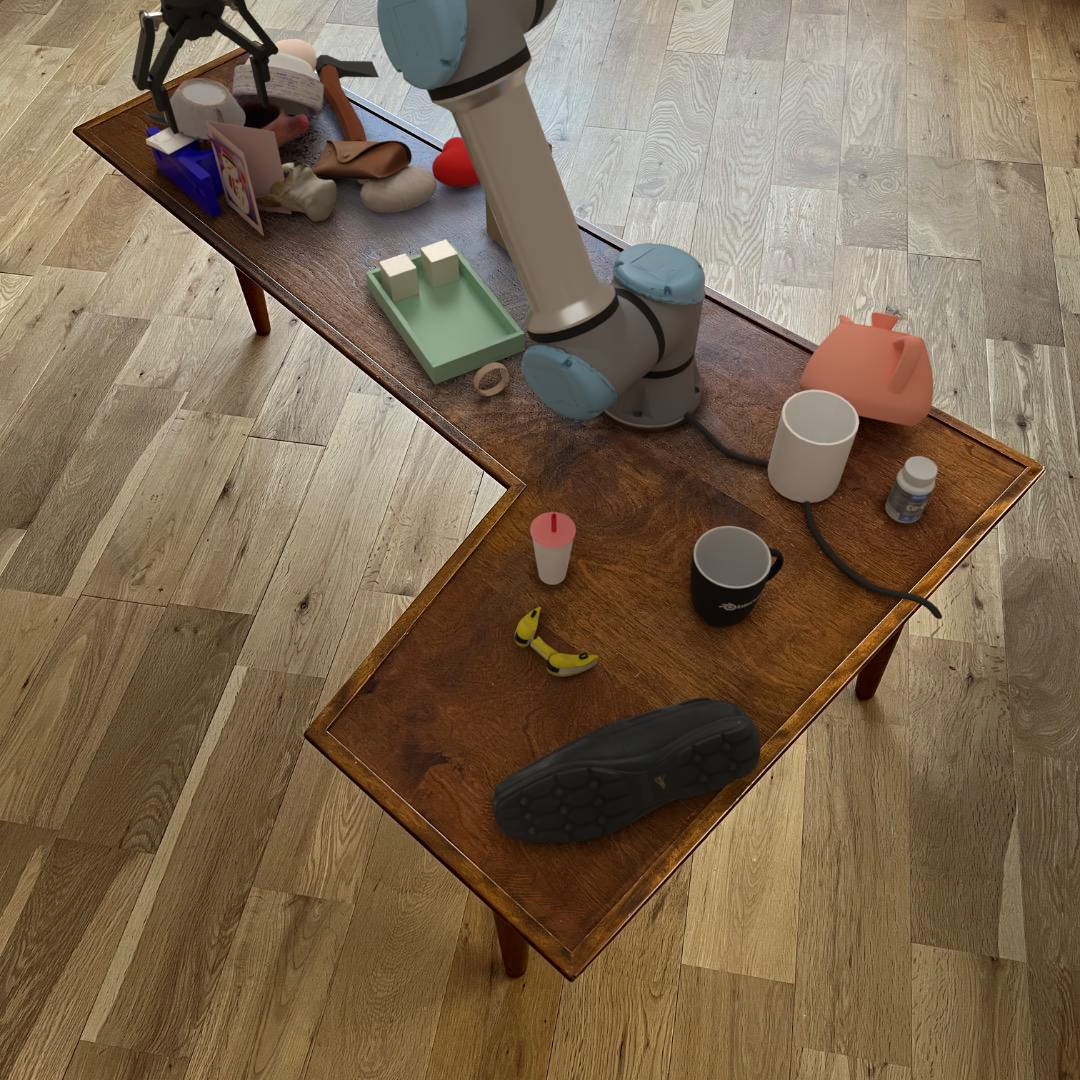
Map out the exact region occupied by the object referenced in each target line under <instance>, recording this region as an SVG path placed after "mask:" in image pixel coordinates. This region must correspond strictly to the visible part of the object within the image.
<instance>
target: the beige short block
mask: <svg viewBox="0 0 1080 1080" xmlns="http://www.w3.org/2000/svg"><path fill="white" fill-rule="evenodd" d="M409 257H410V256H408V255H407V253H406V252H405V253H401V254H399V255H396V256H392V257H390V258H387V259H384V260H380V261H379V262H378V268H379V267H380V274H381V281H382V288H383V289H384V291H385V292H386V294H387V295H388V296H389V298H390V299H391V301H392V302H393V303H396V302H398V301H401V300H404V299H407V298H410V297H413V296H415V295H418V294H419V285H418V276H417V268H416V267H415V265H414V264H413V263H412V261H411V260H410V259H409Z"/></svg>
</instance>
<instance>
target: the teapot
mask: <svg viewBox="0 0 1080 1080" xmlns="http://www.w3.org/2000/svg"><path fill="white" fill-rule="evenodd" d="M838 318H839V324H838V325H836V327H834V328H833V329H832V330H831V332H830V333H829V334H828V335H827V336H826V337H825V338H824V340H823V341H822V342H821V343H820V344H819V345H818V346H817V348H816V349H815V350H814V352H813V354H812V355H811V356H810V358H809V359H808V361H807V363H806V365H805V367H804V370H803V372H802V374H801V378H800V381H799V388H800V392H802V391H807V390H823V391H827V392H832V393H834V394H836V395H839V396H841V397H842V398H844V399H845V400H847V401H848V402H849V403H850V404H851V405H852V406H853V407H854V408H855V410H856V412H857V414H858V417H863V418H869V419H873V420H878V421H882V422H888V423H892V424H898V425H902V426H908V427H915V426H916V425H918V424H919V423H921V421H923V420H924V419H925V418H926V417H927V416H928V415H929V414H930V412H931V410H932V405H933V399H934V375H933V370H932V364H931V361H930V357H929V353H928V349H927V345H926V342H925V340H924V339H923V338H922V337H920V336H919V335H913V334H910V333H905V332H899V331H896V330H893V329H894V328H895V326H896V325H897V323H898V321H899V319H900V318H899V317H898V316H897V315H894V314H891V313H890V314H889V313H886V312H879V311H874V312H871V324H872V325H865V324H861V323H854V321H853V320H852V318H850V317H848V316H846V315H844V314H839V315H838Z"/></svg>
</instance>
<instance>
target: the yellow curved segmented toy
mask: <svg viewBox="0 0 1080 1080" xmlns="http://www.w3.org/2000/svg"><path fill="white" fill-rule="evenodd" d="M541 610H542V607H541V606H538V607H536V608H534V609H532V610H531V611H529V612H528V613H527V614H526V615H524V616H523V617H521V619H520V621H519V622H518V624H517V626H516V629H515V632H514V636H513V637H514V638H513V639H514V643H515V644H516V645H517V646H518V647H520V648H526V647H528V646H530V648H532V650H534V651H535V652H536V653H537V654H538V655H540V657H542V658H544V660H545V661H547V662H546V670H547V672H548V674H550V675H552V676H553V677H559V678H563V677H564V678H565V677H571V676H575V675H576V676H577V675H580V674H582V673H584V672H586V671H588V670H591V669H592V668H594V667H595V666H597V664H598V662H599V659H600V656H599V655H597V654H588V653H587V652H582V653H580V654H568V653H563V652H558V651H557V650H555V649H553V648H552V647H551V646H549V645H548V644H547V643H546V642H545V641H544V640H543V639H542V638H541V637H540V635H537V637H536V639H534V638H535V635H536V633H537V628H538V624H539V619H540V614H541Z"/></svg>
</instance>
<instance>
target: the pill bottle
mask: <svg viewBox="0 0 1080 1080" xmlns="http://www.w3.org/2000/svg"><path fill="white" fill-rule="evenodd" d="M938 471H939V470H938V466H937V464H936V463H935V462H934V461H932V459H929V458H928V457H925V456H922V455H915V456H911V457H909V458H907V460H906V461H905V462H904V465H903V467H902V468H901V469H900V470H899V471H897V474H896V476H895V479H894V481H893V483H892V486H891V489H890V491H889V494H888V496H887V498H886V500H885V505H884V507H885V508H884V509H885V512H886V513H887V515H888V516H889V517H890V518H891V519H892V520H894V521H896V522H898V523H902V524H913V523H915V522H917V521H919V520H920V518H921V517H922V515H923V513H924V511H925V508H926V506H927V504H928V502H929V500H930V498H931V496H932V494H933V492H934V490H935V487H936V477H937V475H938Z"/></svg>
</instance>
